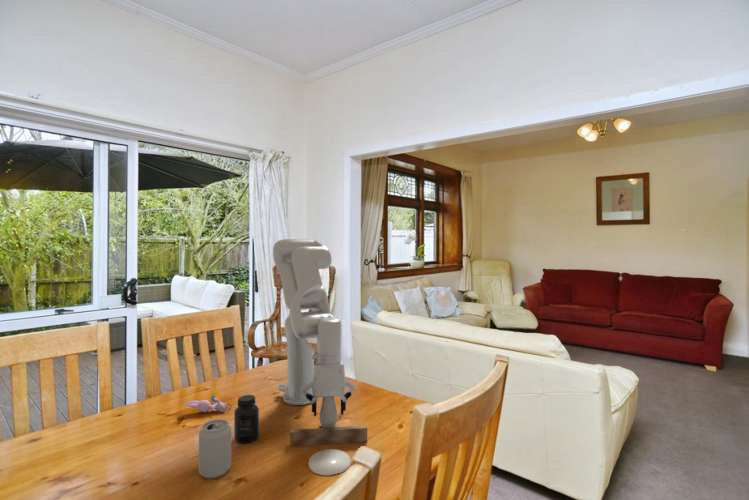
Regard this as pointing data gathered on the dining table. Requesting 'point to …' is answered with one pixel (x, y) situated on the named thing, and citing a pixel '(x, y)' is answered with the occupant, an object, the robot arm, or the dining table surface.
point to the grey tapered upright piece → (328, 412)
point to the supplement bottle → (246, 420)
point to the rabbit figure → (205, 405)
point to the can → (214, 448)
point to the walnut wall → (328, 435)
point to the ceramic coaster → (329, 462)
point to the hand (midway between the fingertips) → (328, 413)
